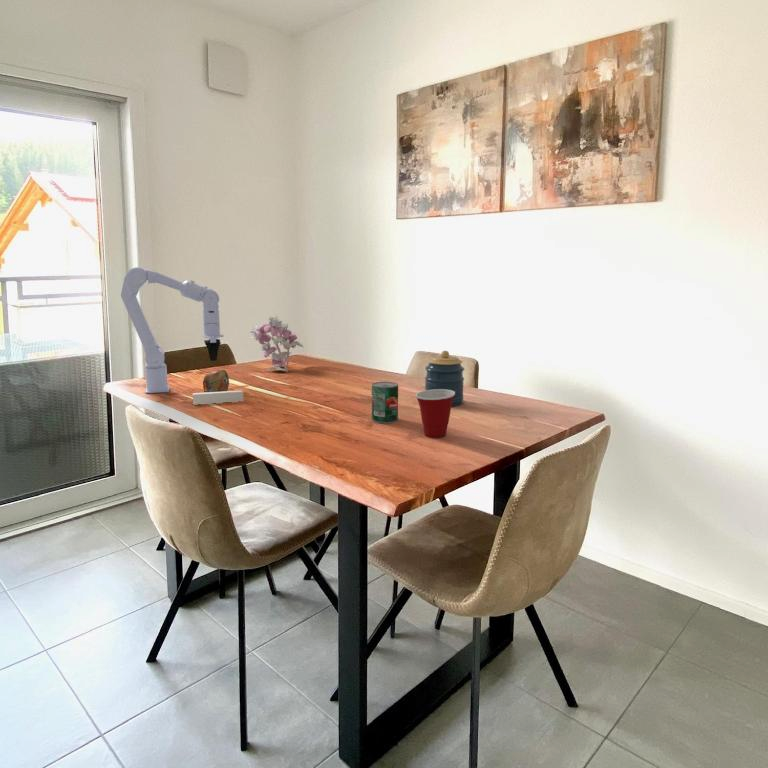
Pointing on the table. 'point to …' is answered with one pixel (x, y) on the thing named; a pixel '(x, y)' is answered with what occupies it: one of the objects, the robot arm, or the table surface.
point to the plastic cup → (435, 411)
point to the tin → (216, 381)
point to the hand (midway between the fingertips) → (213, 359)
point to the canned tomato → (384, 402)
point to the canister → (446, 375)
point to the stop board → (217, 397)
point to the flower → (275, 341)
